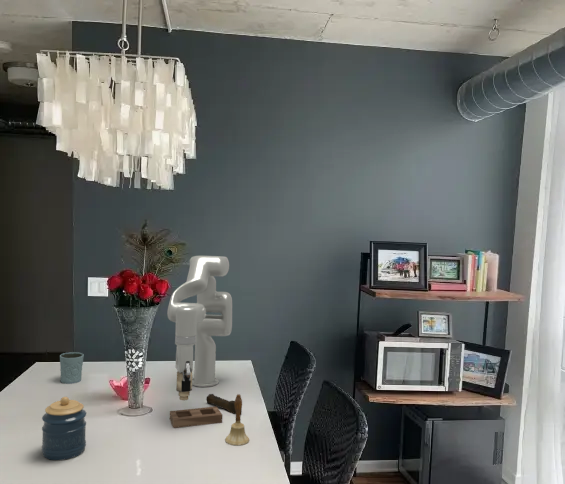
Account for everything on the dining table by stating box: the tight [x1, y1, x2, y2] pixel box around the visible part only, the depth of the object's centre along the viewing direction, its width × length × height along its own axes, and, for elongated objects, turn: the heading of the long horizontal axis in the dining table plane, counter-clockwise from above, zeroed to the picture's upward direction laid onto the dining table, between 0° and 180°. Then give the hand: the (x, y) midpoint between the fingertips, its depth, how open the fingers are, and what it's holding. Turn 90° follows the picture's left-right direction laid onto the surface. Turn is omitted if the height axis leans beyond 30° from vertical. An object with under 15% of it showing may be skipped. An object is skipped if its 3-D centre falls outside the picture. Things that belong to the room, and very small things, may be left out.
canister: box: [41, 396, 87, 461], centre depth 165 cm, size 13×13×18 cm
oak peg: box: [175, 370, 193, 401], centre depth 191 cm, size 6×6×10 cm
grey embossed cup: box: [59, 351, 85, 385], centre depth 235 cm, size 10×10×12 cm
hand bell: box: [224, 393, 250, 446], centre depth 177 cm, size 8×8×16 cm
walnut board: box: [168, 405, 223, 429], centre depth 193 cm, size 9×18×3 cm, turn 111°
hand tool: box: [205, 393, 242, 416], centre depth 206 cm, size 19×4×5 cm, turn 45°
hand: (184, 388), depth 191 cm, fingers closed on oak peg, 5 cm apart
